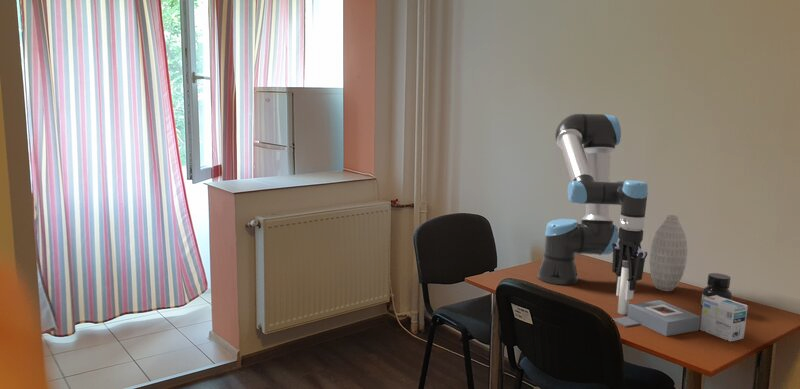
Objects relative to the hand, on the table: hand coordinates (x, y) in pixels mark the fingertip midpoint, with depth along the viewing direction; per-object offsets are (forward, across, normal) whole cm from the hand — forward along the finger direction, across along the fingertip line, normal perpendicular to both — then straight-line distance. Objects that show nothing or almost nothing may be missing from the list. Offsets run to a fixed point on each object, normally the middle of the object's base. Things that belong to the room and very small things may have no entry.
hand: (624, 296), depth 206 cm
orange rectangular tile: (+3, +12, +5) cm, 13 cm away
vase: (+6, -15, +35) cm, 39 cm away
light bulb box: (+6, +25, +16) cm, 30 cm away
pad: (+6, +7, -6) cm, 11 cm away
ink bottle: (+6, +8, +34) cm, 35 cm away
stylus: (+6, 0, 0) cm, 6 cm away
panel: (+6, +12, +5) cm, 14 cm away
